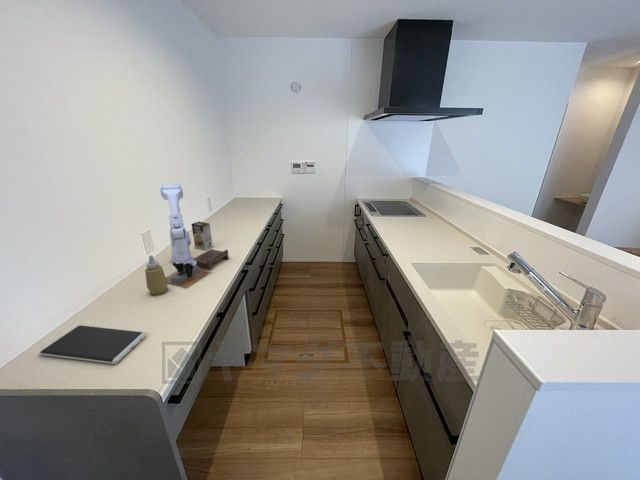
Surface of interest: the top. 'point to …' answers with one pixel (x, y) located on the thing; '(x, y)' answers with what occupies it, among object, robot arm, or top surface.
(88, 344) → the black flat slab
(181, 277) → the remote
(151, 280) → the squeeze bottle
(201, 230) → the coffee box
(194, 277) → the mat
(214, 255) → the shelf
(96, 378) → the top surface
